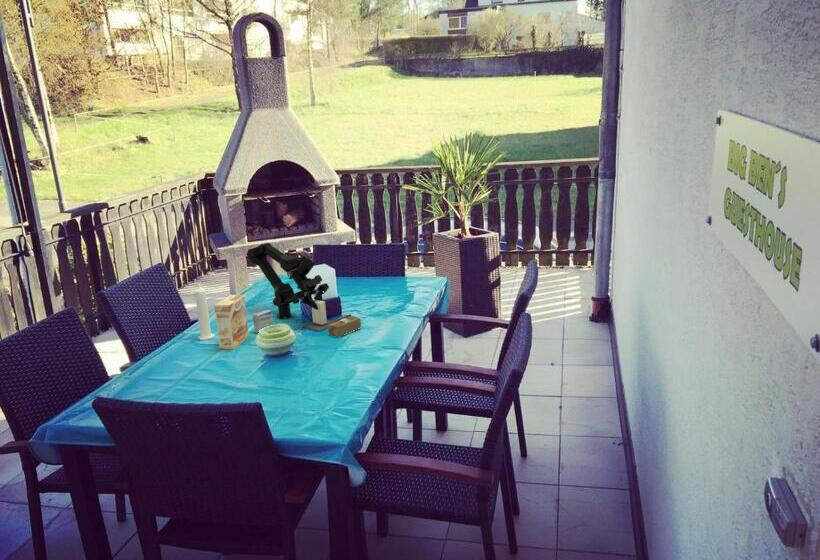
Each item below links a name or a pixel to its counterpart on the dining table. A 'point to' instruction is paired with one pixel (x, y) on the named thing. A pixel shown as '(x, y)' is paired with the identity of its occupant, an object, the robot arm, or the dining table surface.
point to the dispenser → (343, 325)
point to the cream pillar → (319, 313)
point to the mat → (316, 326)
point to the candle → (203, 314)
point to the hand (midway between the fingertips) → (320, 308)
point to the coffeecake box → (231, 321)
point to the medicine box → (262, 319)
